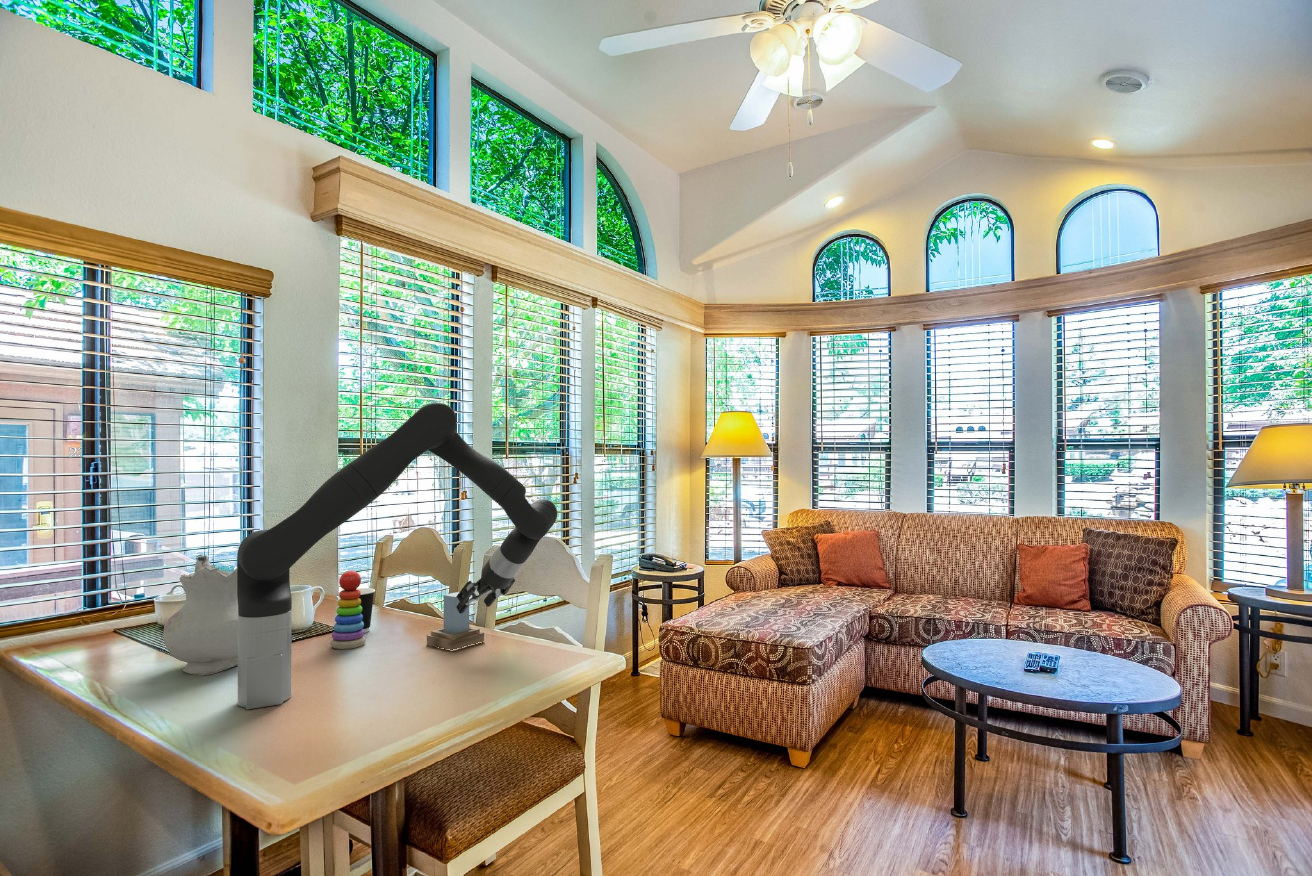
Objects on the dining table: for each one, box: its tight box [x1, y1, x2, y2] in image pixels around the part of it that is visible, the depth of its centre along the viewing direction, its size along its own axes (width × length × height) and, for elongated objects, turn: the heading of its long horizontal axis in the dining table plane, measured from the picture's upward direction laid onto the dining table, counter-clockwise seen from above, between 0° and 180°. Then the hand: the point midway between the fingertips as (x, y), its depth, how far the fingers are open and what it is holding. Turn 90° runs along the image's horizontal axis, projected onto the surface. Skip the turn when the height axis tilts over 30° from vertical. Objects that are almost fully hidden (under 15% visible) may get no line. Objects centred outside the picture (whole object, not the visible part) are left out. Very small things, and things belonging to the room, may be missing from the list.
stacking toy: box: [330, 570, 366, 650], centre depth 175 cm, size 8×8×19 cm
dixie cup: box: [357, 587, 376, 634], centre depth 189 cm, size 8×8×11 cm
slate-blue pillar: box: [443, 591, 470, 635], centre depth 176 cm, size 4×4×10 cm
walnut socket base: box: [426, 626, 485, 650], centre depth 176 cm, size 10×10×4 cm
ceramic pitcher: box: [162, 554, 238, 676], centre depth 159 cm, size 22×20×25 cm
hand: (472, 607), depth 172 cm, fingers open, 8 cm apart
